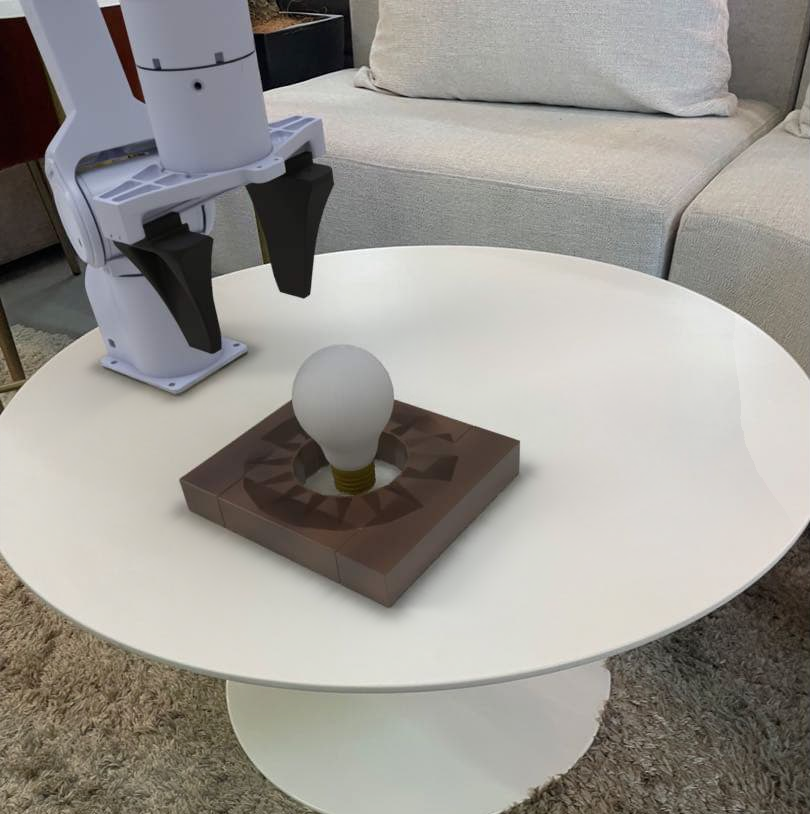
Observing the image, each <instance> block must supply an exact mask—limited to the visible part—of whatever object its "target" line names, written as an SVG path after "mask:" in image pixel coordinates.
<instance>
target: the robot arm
mask: <svg viewBox="0 0 810 814" xmlns="http://www.w3.org/2000/svg"><path fill="white" fill-rule="evenodd" d="M18 2H19V4H20V7H21V9H22V12H23V14H24V17H25V19H26V22H27V24H28V26H29V29H30V31H31V34H32V36H33V38H34V41H35V44H36V46H37V48H38V51H39V52H40V55H41V58H42V61H43V63H44V65H45V68H46V70H47V73H48V75H49V78H50V80H51V83H52V85H53V88H54V90H55V92H56V95H57V98H58V99H59V102H60V104H61V107H62V109H63V112H64V115H65V119H64V121H63V122H62V124H61V126H60V127H59V129H58V130H57V132H56V134H55V135H54V136H53V138H52V139H51V141H50V143H49V144H48V146H47V148H46V150H45V154H44V159H45V160H44V172H45V176H46V178H47V180H48V183H49V185H50V188H51V191H52V194H53V199H54V202H55V206H56V209H57V212H58V215H59V217H60V221H61V223H62V226H63V229H64V230H65V233H66V236H67V237H68V239H69V241H70V244H71V245H72V247H73V248H74V250H75V252H76V254H77V255H78V257H79V258H80V259H81V261H82V262H84V263H86V264H87V265H86V268H85V273H84V287H85V291H86V292H85V293H86V295H87V298H88V300H89V303H90V304H89V305H90V306H91V309H92V312H93V314H94V315H93V316H94V317H95V318H94V319H95V321H96V323H97V327H98V329H99V332H100V334H101V337H102V340H103V343H104V346H105V349H106V351H107V354H108V355H106V356H104V357H102V358H101V359H100V364H101V366H102V367H104V368H107V369H109V370H112V371H115V372H117V373H120V374H123V375H125V376H128V377H130V378H132V379H135V380H138V381H140V382H143V383H146V384H148V385H151V386H152V387H156V388H158V389H160V390H163V391H166V392H168V393H171V394H174V395H178V394H181V393H183V392H185V391H186V390H187V389H189V388H191V387H193V386H194V385H197V383H199V382H200V381H202V380H204V379H206V378H207V377H209V376H210V375H211V374H213V373H215V372H217V371H218V370H220V369H221V368H223V367H225V366H226V365H227V364H229V363H231V362H232V361H234V360H236V359H237V358H238V357H240V356H243V355H244V354H245V353H247V351H248V345H247V344H245V343H242V342H239V341H237V340H234V339H231V338H227V337H224V336H222V331H221V327H220V321H219V317H218V312H217V308H216V304H215V299H214V298H215V297H214V291H213V278H212V274H213V273H212V261H213V260H212V259H213V258H212V257H213V247H214V237H212V236H210V235H209V234H210V233H211V232H212V231H213V227H214V223H215V220H216V205H215V201H216V200H217V199H219V198H221V197H224V196H225V195H228V194H230V193H232V192H234V191H236V190H239V189H241V188H244V187H245V190H246V191H247V194H248V196H249V199H250V200H251V203H252V205H253V207H254V210H255V213H256V215H257V218H258V220H259V223H260V226H261V229H262V232H263V237H264V240H265V244H266V248H267V253H268V258H269V262H270V267H271V270H272V275H273V279H274V281H275V284H276V286H277V289H278V291H279V293H281V294H285V295H288V296H292V297H295V298H296V297H297V298H300V299H306V298H308V297H310V296H311V292H312V284H313V283H312V282H313V273H314V262H315V254H316V247H317V240H318V234H319V230H320V226H321V222H322V219H323V215H324V211H325V208H326V205H327V202H328V201H329V197H330V195H331V193H332V190H333V188H334V186H335V180H334V172H333V168H332V167H331V166H330V165H327V164H323V163H322V164H321V163H316V162H314V159H318V158H320V157H323V156H324V155H326V154H327V149H326V148H327V147H326V140H325V132H324V124H323V118H322V117H319V116H318V117H317V116H311V115H303V114H293V115H291V116H288V117H285V118H282V119H279V120H276V121H272V122H268V121H269V120H268V114H267V109H266V103H265V97H264V91H263V84H262V80H261V79H262V78H261V74H260V73H261V72H260V69H259V62H258V56H257V51H256V50H257V49H256V43H255V38H254V31H253V26H252V20H251V14H250V8H249V7H250V6H249V2H248V0H118V2H119V6H120V10H121V13H122V17H123V21H124V25H125V29H126V32H127V37H128V40H129V45H130V48H131V52H132V56H133V59H134V63H135V68H136V71H137V76H138V80H139V84H140V87H141V91H142V95H143V99H144V102H142V101H141V100H138V99H137V98H136V97H135V96H134V94H133V92H132V89H131V87H130V83H129V82H128V79H127V76H126V73H125V71H124V68H123V65H122V63H121V60H120V58H119V55H118V53H117V49H116V47H115V44H114V41H113V39H112V37H111V34H110V31H109V29H108V26H107V23H106V20H105V18H104V15H103V12H102V10H101V8H100V5H99V2H98V0H18ZM138 154H141V155H138ZM133 155H138V156H133ZM129 156H133V157H130V158H126V159H123V160H118V161H114V162H110V163H106V164H103V165H99V166H94V167H91V166H93V165H97V164H101V163H105V162H109V161H113V160H117V159H121V158H124V157H129ZM89 166H90V168H86V169H83V168H85V167H89ZM81 168H82V170H80V169H81ZM77 170H78V171H77Z"/></svg>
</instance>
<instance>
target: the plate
mask: <svg viewBox="0 0 810 814" xmlns="http://www.w3.org/2000/svg"><path fill="white" fill-rule="evenodd" d="M520 455H521V440H520V439H517V438H514V437H511V436H508V435H505V434H501V433H500V432H499V433H498V432H495V431H492V430H490V429H486V428H484V427H480V426H477V425H473V424H470V423H467V422H464V421H461V420H459V419H456V418H453V417H449V416H446V415H443V414H441V413H437V412H435V411H432V410H429V409H425V408H422V407H419V406H417V405H413V404H411V403H407V402H404V401H401V400H398V399H395V398H394V405H393V409H392V413H391V416H390V419H389V421H388V423H387V424H386V426H385V428H384V429H383V431H382V433H381V434H380V437H379V440H378V447H377V451H376V455H375V456H374V458H375V460H380V461H382V462H384V463H387V464H389V465H390V464H391V465H392V466H396V467H397V468H398V469H399V470H400V471H401V473H399V474H398V475H396V476H395V478H394V479H392V480H391V481H390V482H389V483H388V484H385V485H383V486H381V487H378V488H376V489H374V490H371V491H369V492H364V493H362V494H358V495H346V496H345V495H332V494H331V495H330V494H323V493H320V492H318V491H316V490H313V489H311V488H308V487H306V486H304V484H305V482H306V481H307V479H309V478H310V477H312V475H313V474H315V473H316V472H317V471H318V470H320V469H322V468H324V467H326V466H330V463H329V461H328V460H327V459H326V457H325V454H324V452H323V450H322V448H321V446H320V445H319V444H318V443H317V442H316V441H315V440H314V439H313V438H312V437H311V436H309V435H308V434H307V432H306V431H305V430H304V429H303V428H302V426H301V425H300V423H299V421H298V419H297V417H296V415H295V412H294V409H293V403H292V398H291V399H290V400H289V401H287V402H286V403H284V404H283V405H282V406H280V407H279V408H277V409H275V411H273V412H271V413H270V414H269V415H267V416H266V417H264V418H263V419H262V420H260V421H259V422H258V423H256V424H255V425H253V426H252V427H250V428H249V429H248V430H246V431H245V432H244V433H242V434H241V435H239V436H238V437H236V438H235V439H233V440H232V441H231V442H229V443H228V444H226V445H225V446H224V447H222V448H221V449H219V450H218V451H216V452H215V453H214V454H212V455H211V456H209V457H208V458H207V459H205V460H204V461H202V462H201V463H200V464H198V465H197V466H195V467H194V468H193V469H191V470H190V471H188V472H187V473H186V474H184V475H183V476H181V477H180V478H179V479H178V481H179V485H180V487H181V490H182V493H183V497H184V499H185V503H186V506H187V509H188V511H189V512H193V513H194V514H196V515H199V516H201V517H203V518H204V519H207V520H209V521H210V522H213V523H215V524H217V525H219V526H221V527H223V528H226V529H227V530H229V531H232V532H234V533H235V534H237V535H239V536H242V537H244V538H245V539H248V540H250V541H252V542H254V543H256V544H258V545H261V547H264V548H266V549H268V550H271V551H272V552H274V553H276V554H279V555H281V556H283V557H285V558H287V559H289V560H290V561H293V562H294V563H297V564H299V565H301V566H304V567H305V568H308V569H309V570H312V571H313V572H316V573H317V574H319V575H322V576H324V577H326V578H327V579H330V580H332V581H334V582H336V583H338V584H341V585H342V586H344V587H345V588H348V589H349V590H352V591H354V592H356V593H358V594H360V595H362V596H364V597H366V598H369V599H370V600H371V601H374V602H376V603H379V604H381V605H382V606H385V607H387V608H391V606H392V605H393V604H395V603H396V601H397V600H398V599H399V598H400V597H401V596H402V595H403V594H404V592H406V591H407V589H408V588H410V586H412V584H413V583H414V582H415V581H416V580H417V579H418V578H419V577H420V576H421V575H422V574H423V573H424V572H425V571H426V570H427V569H428V568H429V567H430V566H431V565H432V564H433V563H434V562H435V561H436V560H437V558H439V556H440V555H441V554H442V553H444V551H445V550H446V549H447V548H448V547H449V546H450V545H451V544H452V543H453V542H454V541H455V540H456V539H457V538H458V537H459V536H460V535H461V533H462V532H464V530H466V528H467V527H469V525H471V523H472V522H473V521H474V520H475V519H476V518H477V517H478V516H479V515H480V514H481V513H482V512H483V511H484V510H485V509H486V508H487V507H488V506H489V504H490V503H492V501H494V500H495V498H496V497H497V496H498V495H499V494H500V493H501V492H502V491H503V490H504V489H505V488H506V487H507V486H508V485H509V484H510V483H511V482H512V480H514V479H515V477H516V476H518V474H520V461H521V460H520V459H521V458H520V457H521V456H520Z"/></svg>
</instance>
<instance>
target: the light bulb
mask: <svg viewBox="0 0 810 814" xmlns="http://www.w3.org/2000/svg"><path fill="white" fill-rule="evenodd" d="M291 389H292V390H291V399H292V403H293V409H294V412H295V415H296V417H297V419H298V421H299V423H300V425H301V426H302V428H303V429H304V430H305V431H306V432H307V434H308V435H309V436H311V437H312V438H313V439H314V440H315V441H316V442H317V443H318V444H319V445H320V446H321V448H322V450H323V452H324V454H325V457H326V459H327V460H328V461H329V463H330V464H329V466H330V469H331V474H332V478H333V483H334V487H335V489H336V490H337V491H338V492H340V493H342V494H344V495H348V496H351V495H358V494H364V493H367V492H368V491H370V490H372V488H373V487H374V486H375V485H376V482H377V477H376V462H375V460H376V459H375V458H374V456H375V455H376V451H377V447H378V440H379V437H380V434H381V433H382V431H383V429H384V428H385V426H386V424H387V423H388V421H389V419H390V416H391V413H392V409H393V405H394V399H395V391H394V385H393V382H392V379H391V377H390V374H389V371H388V370H387V368H386V366H384V364H383V363H382V362H381V361H380V359H378V358H377V356H375V355H374V354H373V353H371V352H370V351H368V350H367V349H364V348H362V347H359V346H356V345H353V344H343V343H342V344H332V345H328V346H325V347H322V348H320V349H318V350H317V351H315V352H313V353H312V354H311V355H310V356H309V357H307V358H306V359H305V360H304V362H303V363H302V364H301V366H300V367H299V368H298V370H297V373H296V374H295V377H294V379H293V383H292V388H291Z"/></svg>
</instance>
